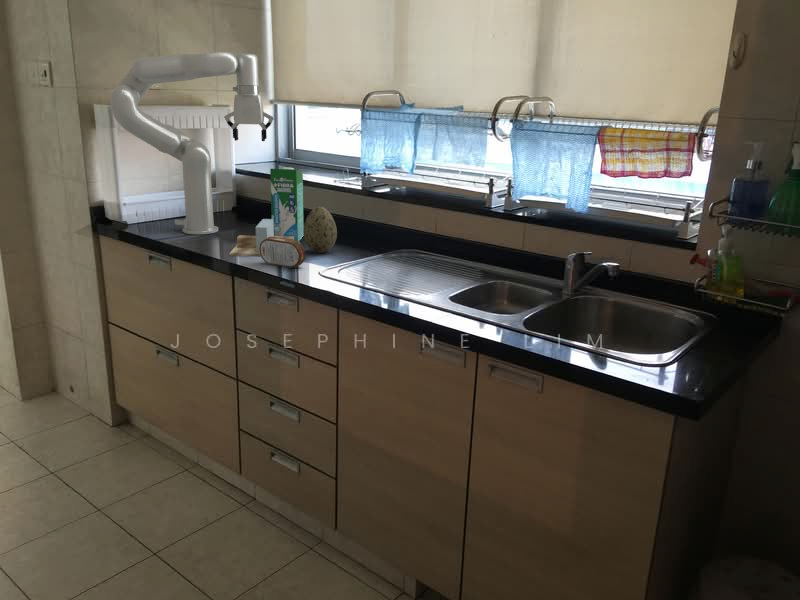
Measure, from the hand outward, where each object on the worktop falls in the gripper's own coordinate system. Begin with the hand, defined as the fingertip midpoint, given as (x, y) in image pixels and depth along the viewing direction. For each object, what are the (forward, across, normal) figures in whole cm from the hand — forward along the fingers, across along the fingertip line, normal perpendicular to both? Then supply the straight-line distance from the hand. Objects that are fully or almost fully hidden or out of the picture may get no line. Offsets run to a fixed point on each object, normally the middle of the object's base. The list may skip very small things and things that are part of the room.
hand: (249, 140), depth 245 cm
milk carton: (+32, +15, -15) cm, 39 cm away
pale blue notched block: (+32, +10, -32) cm, 46 cm away
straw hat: (+32, +10, -32) cm, 47 cm away
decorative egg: (+32, +28, -34) cm, 55 cm away
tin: (+33, +18, -52) cm, 64 cm away
